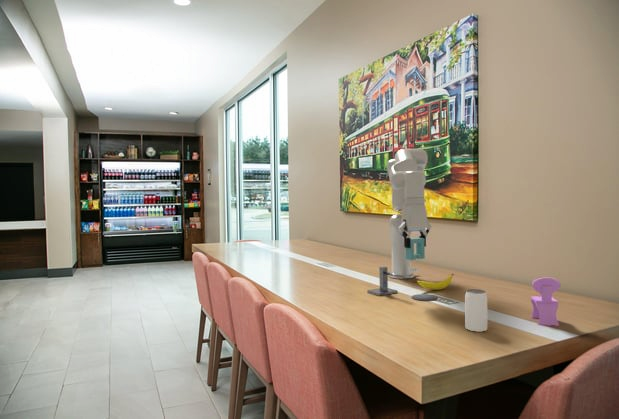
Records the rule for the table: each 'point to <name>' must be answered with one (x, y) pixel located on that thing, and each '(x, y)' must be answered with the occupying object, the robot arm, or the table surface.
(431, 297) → the coaster
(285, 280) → the table surface
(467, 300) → the can
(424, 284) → the banana
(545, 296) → the toy chair
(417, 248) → the link
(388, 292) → the stand
